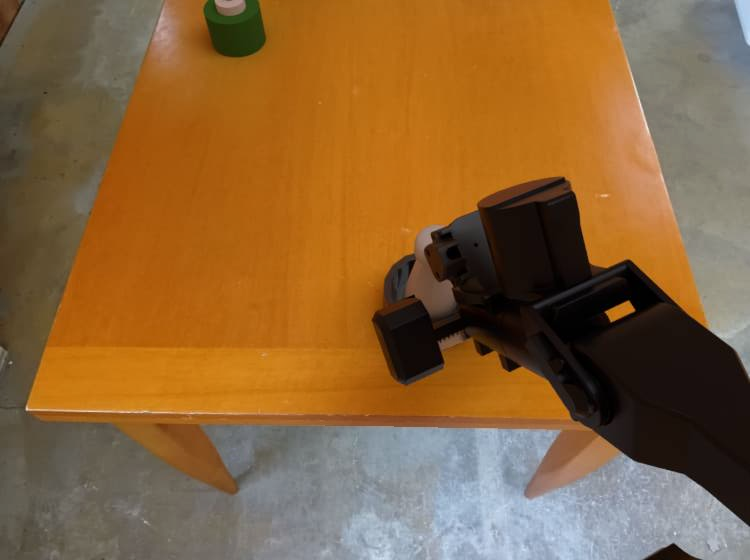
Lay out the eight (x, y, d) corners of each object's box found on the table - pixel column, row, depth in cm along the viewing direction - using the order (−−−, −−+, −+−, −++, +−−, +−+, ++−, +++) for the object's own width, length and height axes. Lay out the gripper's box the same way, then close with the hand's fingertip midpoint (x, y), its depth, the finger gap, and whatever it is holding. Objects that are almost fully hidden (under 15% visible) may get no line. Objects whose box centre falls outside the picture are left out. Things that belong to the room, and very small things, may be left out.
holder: (488, 313, 63) (495, 292, 59) (425, 366, 60) (428, 348, 56) (428, 259, 67) (431, 236, 63) (365, 306, 63) (364, 285, 60)
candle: (238, 64, 86) (222, 1, 77) (201, 42, 88) (182, -20, 80) (276, 37, 89) (266, -26, 81) (239, 17, 92) (225, -46, 83)
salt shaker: (463, 322, 62) (481, 254, 51) (414, 339, 61) (422, 274, 49) (441, 279, 64) (453, 206, 53) (394, 295, 63) (397, 223, 52)
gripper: (618, 175, 40) (505, 177, 55) (381, 271, 36) (328, 246, 51) (648, 316, 43) (533, 282, 58) (431, 420, 39) (367, 355, 54)
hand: (444, 289), depth 55 cm, fingers open, 9 cm apart
